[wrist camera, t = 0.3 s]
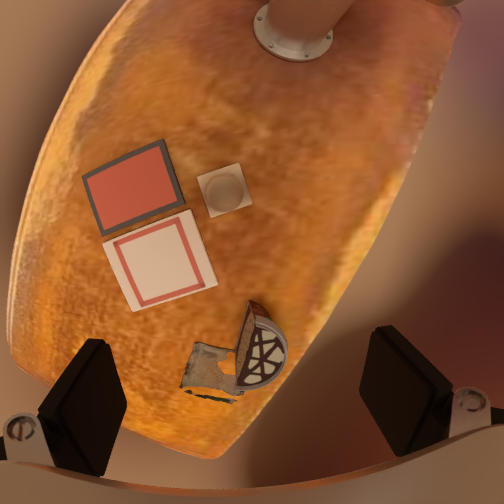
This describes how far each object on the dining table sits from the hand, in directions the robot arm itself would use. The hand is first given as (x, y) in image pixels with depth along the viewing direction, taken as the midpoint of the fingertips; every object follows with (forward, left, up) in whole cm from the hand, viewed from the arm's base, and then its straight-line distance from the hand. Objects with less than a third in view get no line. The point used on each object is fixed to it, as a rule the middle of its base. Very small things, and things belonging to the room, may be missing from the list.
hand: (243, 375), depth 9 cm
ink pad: (-10, -12, -34) cm, 38 cm away
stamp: (-5, +1, -34) cm, 35 cm away
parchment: (+25, -11, -35) cm, 45 cm away
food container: (+18, -1, -35) cm, 39 cm away
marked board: (+2, -12, -34) cm, 37 cm away
